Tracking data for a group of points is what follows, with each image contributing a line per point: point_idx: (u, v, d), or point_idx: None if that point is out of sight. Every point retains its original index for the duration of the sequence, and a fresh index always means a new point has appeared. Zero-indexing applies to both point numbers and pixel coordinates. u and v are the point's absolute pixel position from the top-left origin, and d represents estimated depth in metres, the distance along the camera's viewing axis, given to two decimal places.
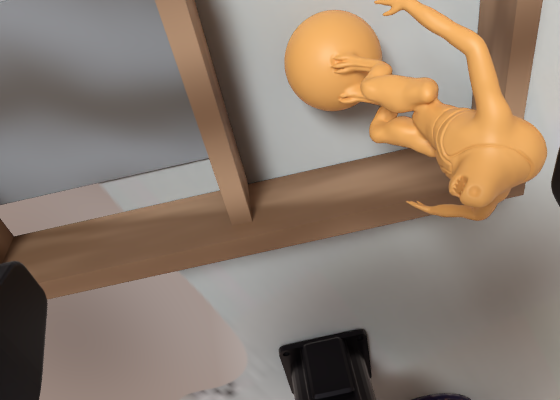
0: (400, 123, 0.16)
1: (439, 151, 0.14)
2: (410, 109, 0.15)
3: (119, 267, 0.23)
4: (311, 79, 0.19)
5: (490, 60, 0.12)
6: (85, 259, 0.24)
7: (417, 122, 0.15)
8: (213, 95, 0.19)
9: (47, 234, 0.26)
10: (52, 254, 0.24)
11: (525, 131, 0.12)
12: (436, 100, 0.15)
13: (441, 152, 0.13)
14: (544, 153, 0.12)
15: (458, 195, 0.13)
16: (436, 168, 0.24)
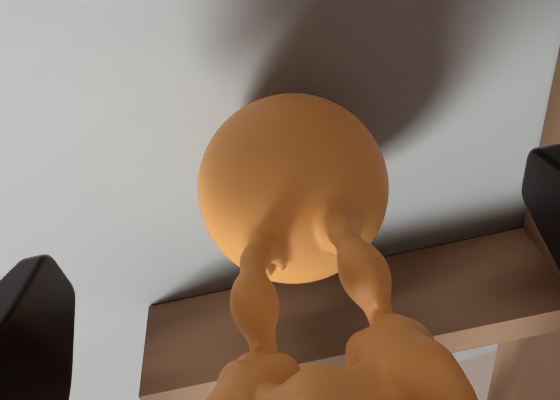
0: None
1: None
2: None
3: None
4: (300, 282, 0.10)
5: None
6: None
7: None
8: (320, 357, 0.13)
9: None
10: None
11: None
12: None
13: None
14: None
15: None
16: None
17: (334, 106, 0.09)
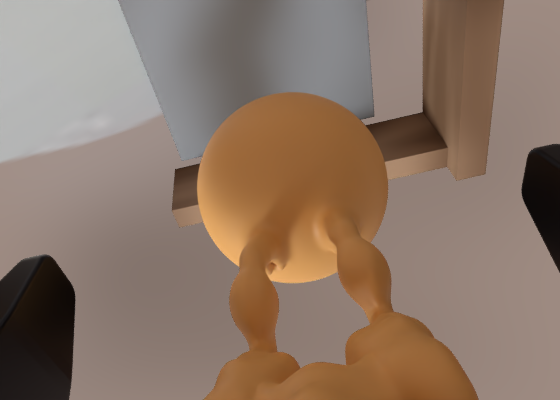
0: None
1: None
2: None
3: None
4: (300, 281, 0.10)
5: None
6: (453, 42, 0.17)
7: None
8: None
9: (426, 77, 0.21)
10: (442, 79, 0.19)
11: None
12: None
13: None
14: None
15: None
16: None
17: (333, 105, 0.09)
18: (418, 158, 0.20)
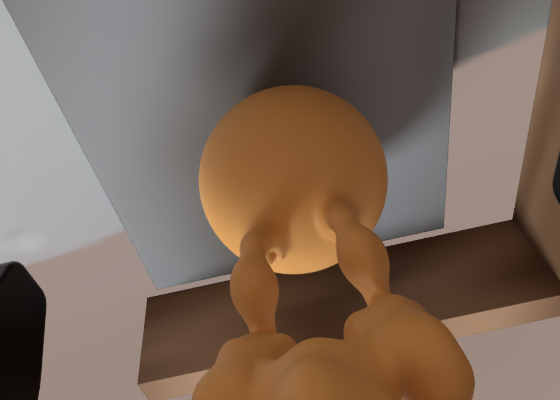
0: None
1: None
2: None
3: None
4: (300, 272, 0.10)
5: None
6: None
7: None
8: None
9: (530, 178, 0.14)
10: None
11: None
12: None
13: None
14: None
15: None
16: None
17: (333, 97, 0.09)
18: (520, 308, 0.13)
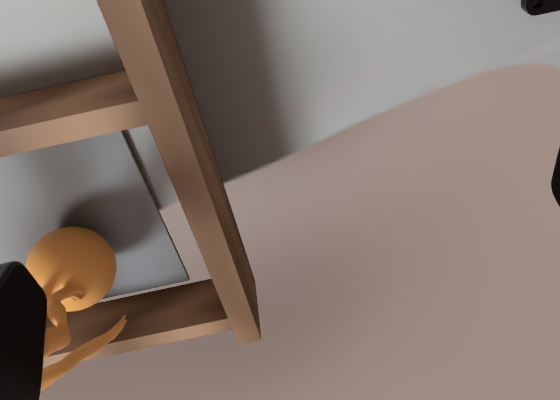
0: None
1: None
2: None
3: (202, 246, 0.21)
4: (70, 311, 0.22)
5: None
6: None
7: None
8: None
9: None
10: None
11: None
12: None
13: None
14: None
15: None
16: None
17: (80, 236, 0.22)
18: (211, 324, 0.26)
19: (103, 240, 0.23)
